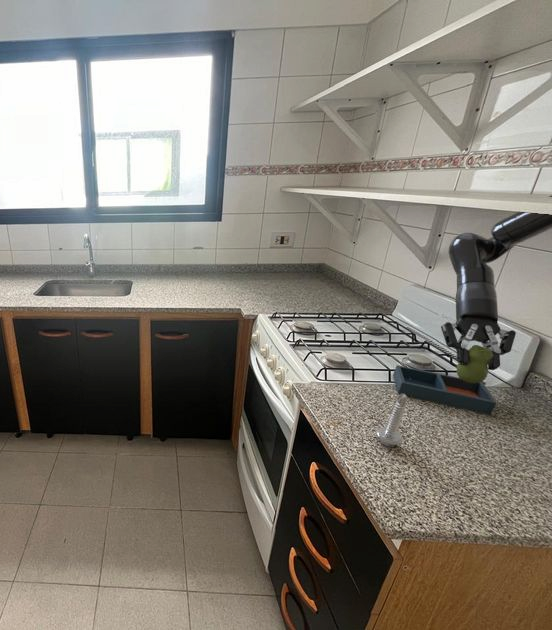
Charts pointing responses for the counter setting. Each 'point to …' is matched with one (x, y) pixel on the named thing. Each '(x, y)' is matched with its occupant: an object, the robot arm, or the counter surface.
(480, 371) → the pear
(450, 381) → the tray
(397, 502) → the counter surface
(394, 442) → the screw
